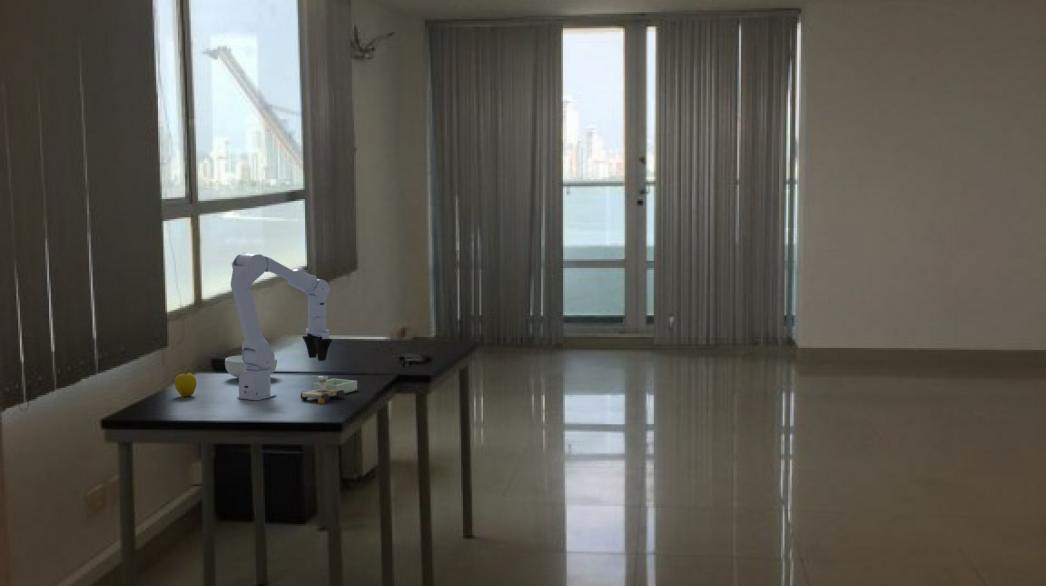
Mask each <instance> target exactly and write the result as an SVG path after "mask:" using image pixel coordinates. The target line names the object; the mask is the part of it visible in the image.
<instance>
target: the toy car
mask: <svg viewBox="0 0 1046 586" xmlns="http://www.w3.org/2000/svg"><path fill="white" fill-rule="evenodd" d="M345 394H346V393H344V391H343V389H334V388H326V392H319V388H317V389H316V390H313V389H312V390H308V391H302V392H301V393H300V399H301V400H302V401H307V400H308V399H309V398H312V399H317V404H319V405H322V404H325V403H327V404H328V402H329V400H330V397H334V396H336V397H337V399H342V400H343V399H344V397H345Z"/></svg>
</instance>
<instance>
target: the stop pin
mask: <svg viewBox="0 0 1046 586" xmlns="http://www.w3.org/2000/svg"><path fill="white" fill-rule="evenodd" d="M316 378H317V379H316V380H317V381H318V382H319V392H326V380H329V376H328V375H317V377H316Z"/></svg>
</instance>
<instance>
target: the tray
mask: <svg viewBox="0 0 1046 586" xmlns="http://www.w3.org/2000/svg"><path fill="white" fill-rule="evenodd" d="M317 388H319V381H318V382H317V381H316V382H313V383H312V390H316V389H317ZM326 388H334V389H343V391H344V393H345V394H347V393H348V394H349V393H350V392H351V393H352V392H355V390H356V391H358V380H351V379H343V378H341V379H340V378H331V379H328V380H326Z"/></svg>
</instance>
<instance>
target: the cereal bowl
mask: <svg viewBox="0 0 1046 586" xmlns="http://www.w3.org/2000/svg"><path fill="white" fill-rule="evenodd" d="M224 359H225V360H224V366H225V370H226V371H227V372H228V374H229V375H231V376H232V377H235V378H237V379H239V376H240V374H241V373H242V372H244V371H245V370H246V364H245V363H244V362H243V360H242V354H241V355H233V356H228V357H226V358H224ZM277 362H278V359H277V357H275V359H274V363H273V364H272V365H271V369H270V376H271V375H272V374H274V372H275V371H276V369H277V365H278V363H277Z"/></svg>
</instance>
